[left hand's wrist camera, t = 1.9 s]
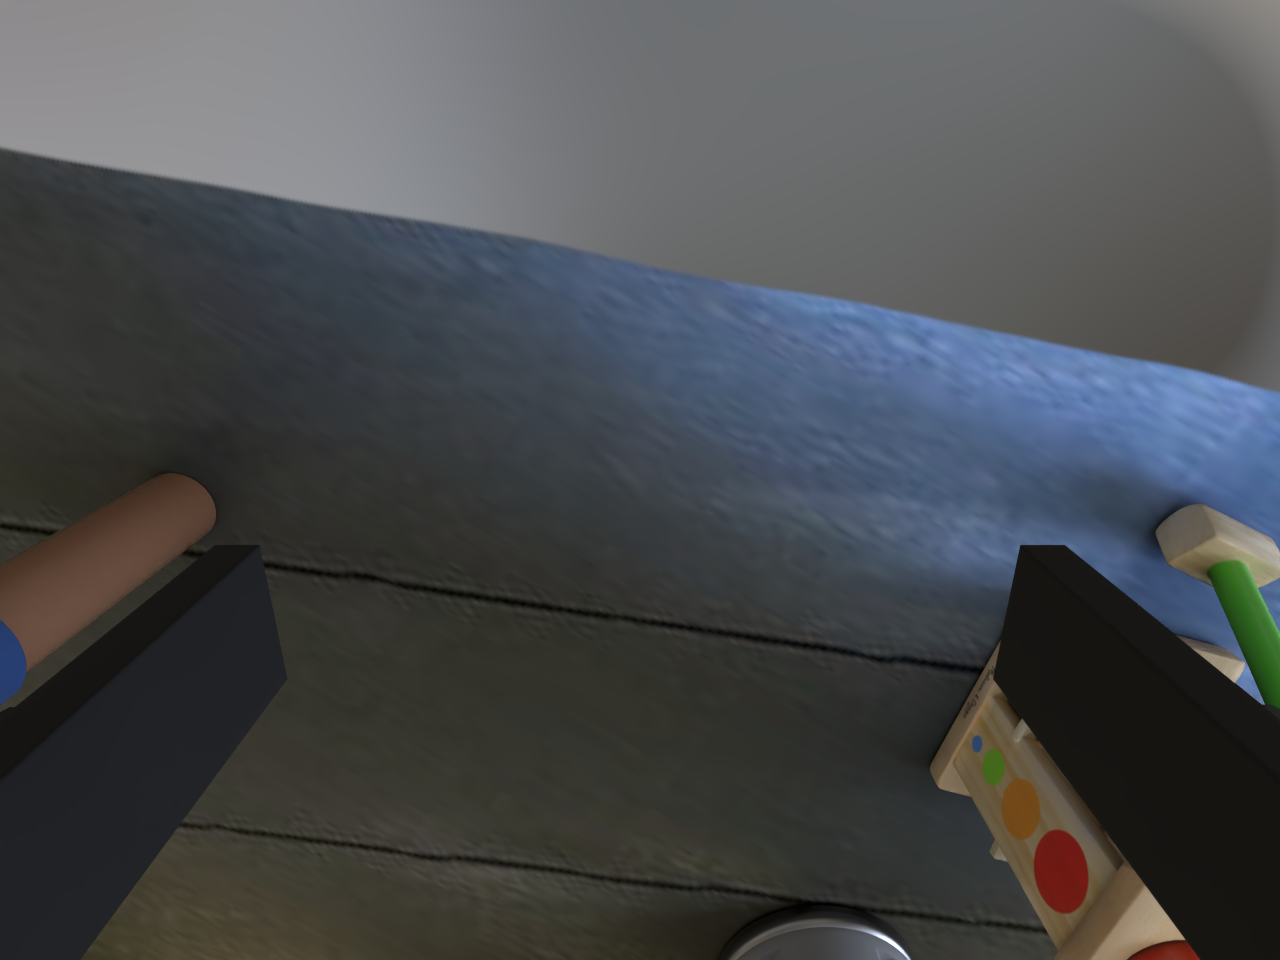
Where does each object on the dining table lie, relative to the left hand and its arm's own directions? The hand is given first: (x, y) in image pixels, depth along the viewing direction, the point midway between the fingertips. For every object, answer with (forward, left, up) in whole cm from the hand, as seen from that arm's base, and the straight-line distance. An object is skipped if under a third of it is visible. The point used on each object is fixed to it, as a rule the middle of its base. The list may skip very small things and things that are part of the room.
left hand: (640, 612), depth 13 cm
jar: (-10, +27, -28) cm, 40 cm away
